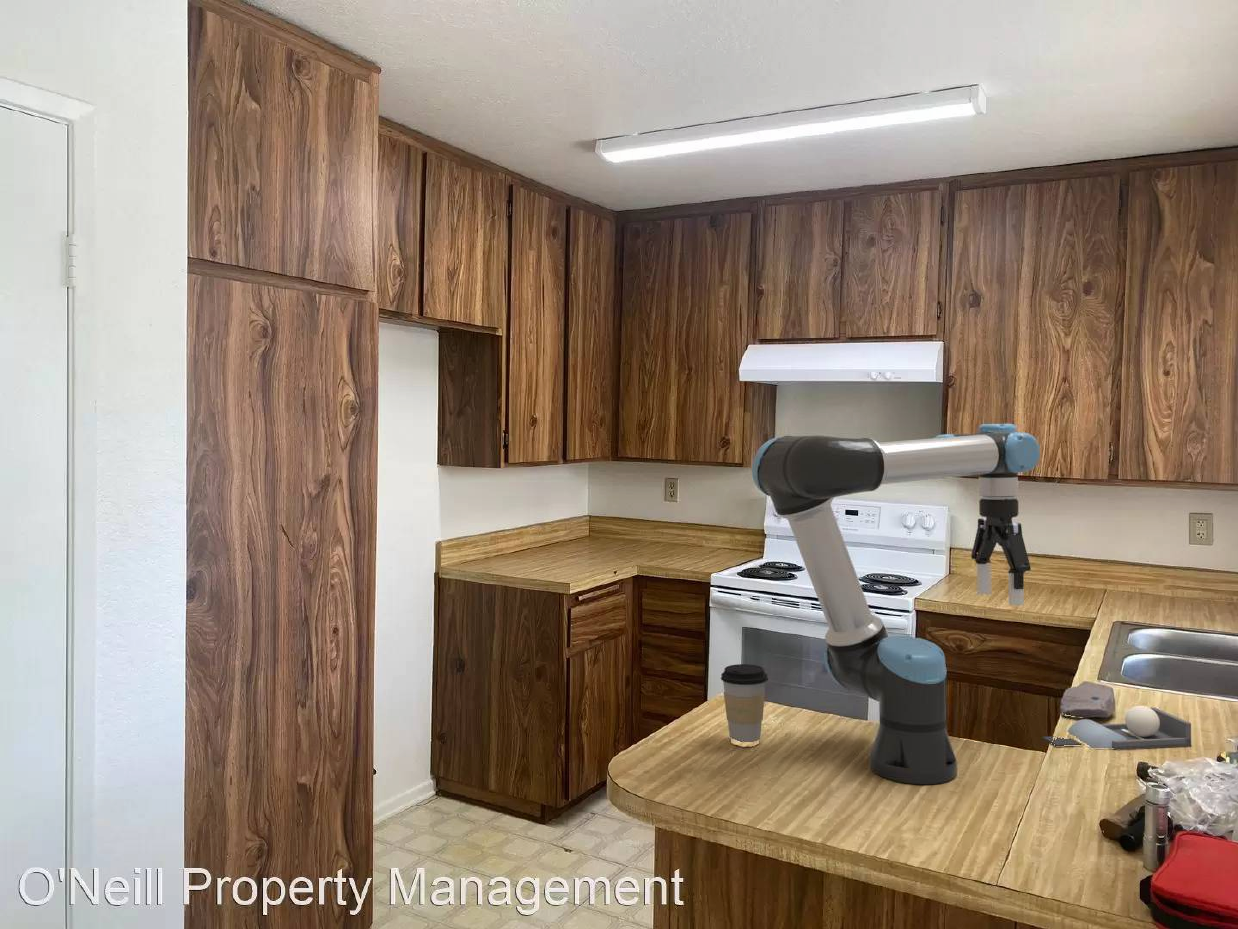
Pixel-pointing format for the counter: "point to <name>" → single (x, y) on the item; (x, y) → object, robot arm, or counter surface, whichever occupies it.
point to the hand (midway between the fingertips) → (999, 599)
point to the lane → (1168, 734)
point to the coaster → (1061, 741)
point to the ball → (1142, 721)
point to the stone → (1088, 700)
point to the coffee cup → (744, 700)
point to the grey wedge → (1094, 734)
